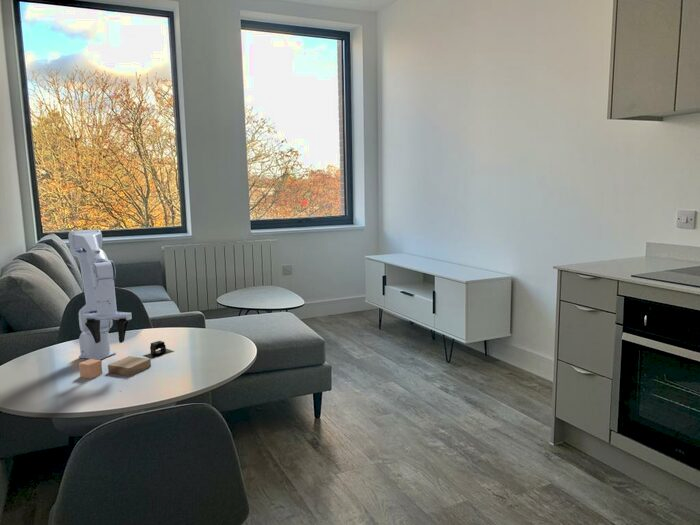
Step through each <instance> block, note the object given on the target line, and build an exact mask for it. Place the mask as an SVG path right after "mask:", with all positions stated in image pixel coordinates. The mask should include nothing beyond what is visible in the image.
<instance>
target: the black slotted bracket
mask: <svg viewBox="0 0 700 525" xmlns="http://www.w3.org/2000/svg"><path fill="white" fill-rule="evenodd" d="M149 349H150V352H149V353H147V354H144V355H142V357H143V358H146V359H150V360H151V359H155V358H158V357H162V356H164V355H168V354H170V353H171V354H172V353H174V352H175V351H174V350H171V349H168V348H166V344H165V341H162V340H158V341H157V340H156V341H153V342H151V343H150V346H149Z"/></svg>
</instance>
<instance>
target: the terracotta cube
mask: <svg viewBox="0 0 700 525" xmlns="http://www.w3.org/2000/svg"><path fill="white" fill-rule="evenodd" d="M78 368H79V369H78V370H79V377H80V378H85V379H93V378H96V377H99V376H100V375H103V367H102V359H100V360H95V359H86V360H84V361H81V362H79V363H78Z"/></svg>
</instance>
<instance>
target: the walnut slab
mask: <svg viewBox="0 0 700 525" xmlns="http://www.w3.org/2000/svg"><path fill="white" fill-rule="evenodd" d="M151 363H152V361H151V359H150V358H147V357H140V356H139V357H137V356H131V355H129V356H127V357H124V358H122V359H119V360H117V361H115V362H112V363H109V364H108V365H107V369H108V370H107V372H108V374H113V375H121V376H127V377H132V376H133V375H136V374H139V373H140V372H142V371H145V370H148V369H150V368H151V367H152V364H151Z"/></svg>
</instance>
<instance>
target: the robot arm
mask: <svg viewBox="0 0 700 525" xmlns="http://www.w3.org/2000/svg"><path fill="white" fill-rule="evenodd" d="M67 239H68V243H69V244H68V245H69V250H70V254H71V256H72V257H74V258H77V260H78V263H79V267H80V275H81V281H82V286H83V287H82V288H83V292H84V299H85V305H83V306H82V307H81V308H80V309H79V311H78V323H79V329H80V331H81V333H80V334H79V337H78V338H79V339H78V342H79V351H80V355H78V357H79V358H82V359H86V360H89V359H95V360H102V359H105V358H108V357H110V356H113V355H115V354H117V352H116V351H112V350H111V346H110V335H109V334H110V333H109V331H110V329H111V328H112V327H113V324H114V322H113V321H116V322H115V325H116V326H115V327H116V329H117V334H118V342H119V344H122V343H124V342H125V337H126V332H127V329H128V326H129V323H130V322H131V320H132V319H133V318H132V312H126V311H125V312H124V311H118V309H117V308H118V307H117V298H116V289H115V280H116V277H117V276H116V273H117V272H116V265H115V263H114V261H113V260H111V259H110V260H109V258H108V256H107V254H106V252H105V251H104V250H103V249H102V246H103V241H104V240H103V234H102V231H101V230H100V229H99V228H96V229H86V230H85V229H84V230H70V231H69V232H68V238H67Z"/></svg>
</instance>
